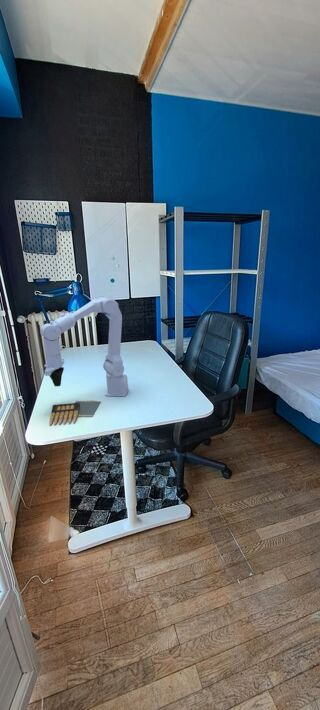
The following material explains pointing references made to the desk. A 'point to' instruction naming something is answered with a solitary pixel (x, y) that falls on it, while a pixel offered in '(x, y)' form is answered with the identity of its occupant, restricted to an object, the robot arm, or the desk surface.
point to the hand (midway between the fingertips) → (57, 385)
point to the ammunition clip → (64, 413)
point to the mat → (87, 408)
